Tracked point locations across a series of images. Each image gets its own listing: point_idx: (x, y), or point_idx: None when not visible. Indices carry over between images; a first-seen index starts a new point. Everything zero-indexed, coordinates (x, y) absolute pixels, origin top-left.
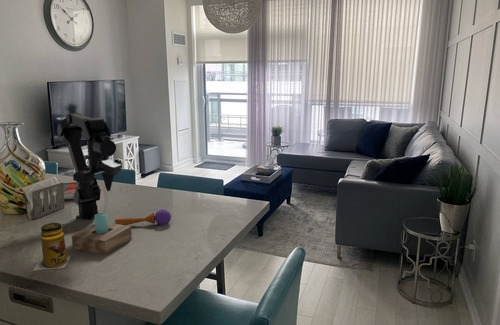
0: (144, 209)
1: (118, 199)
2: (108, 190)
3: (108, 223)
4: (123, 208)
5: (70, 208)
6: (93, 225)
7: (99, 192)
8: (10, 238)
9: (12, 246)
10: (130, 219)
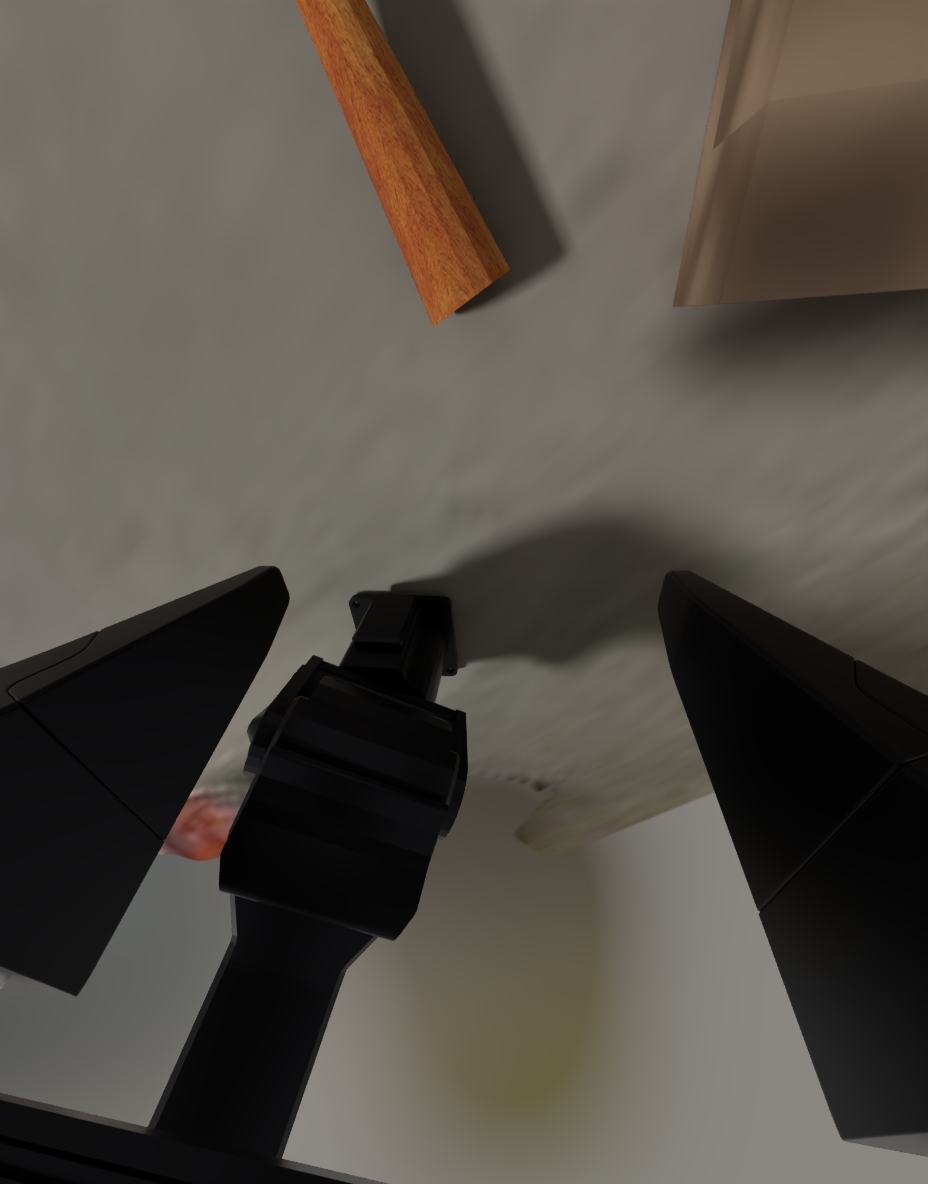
0: (74, 368)
1: None
2: (276, 583)
3: (793, 85)
4: (191, 537)
5: None
6: (869, 272)
7: (289, 698)
8: None
9: None
10: (392, 80)
